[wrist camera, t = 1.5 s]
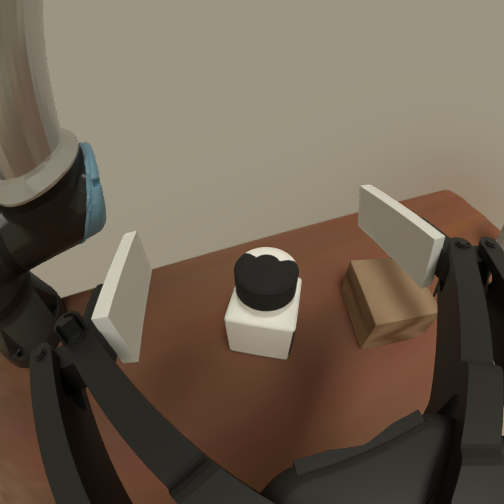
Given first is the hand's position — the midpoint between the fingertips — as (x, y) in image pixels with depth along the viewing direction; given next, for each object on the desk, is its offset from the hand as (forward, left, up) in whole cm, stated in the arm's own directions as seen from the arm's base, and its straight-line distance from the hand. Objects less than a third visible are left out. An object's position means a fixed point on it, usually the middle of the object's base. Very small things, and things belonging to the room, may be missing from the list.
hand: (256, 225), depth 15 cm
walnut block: (+14, +13, -21) cm, 28 cm away
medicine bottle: (-1, +6, -21) cm, 22 cm away
